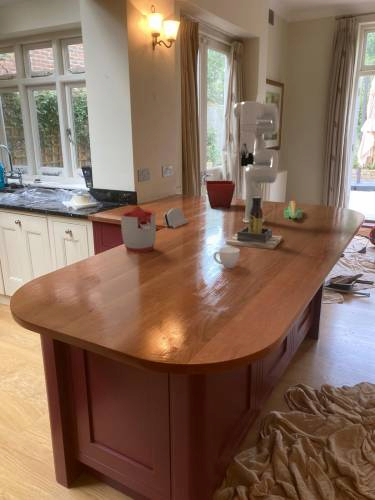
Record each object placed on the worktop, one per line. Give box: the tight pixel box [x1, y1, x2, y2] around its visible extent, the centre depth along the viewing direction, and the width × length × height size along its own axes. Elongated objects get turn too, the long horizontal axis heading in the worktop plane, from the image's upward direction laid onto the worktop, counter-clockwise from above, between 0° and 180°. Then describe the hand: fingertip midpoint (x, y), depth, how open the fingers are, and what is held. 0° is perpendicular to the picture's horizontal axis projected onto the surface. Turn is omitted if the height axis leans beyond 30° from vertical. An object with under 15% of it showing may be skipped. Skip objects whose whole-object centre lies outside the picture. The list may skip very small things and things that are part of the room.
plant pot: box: [205, 180, 236, 209], centre depth 278 cm, size 19×19×17 cm
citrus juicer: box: [119, 205, 157, 254], centre depth 178 cm, size 16×17×20 cm
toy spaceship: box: [283, 200, 303, 220], centre depth 243 cm, size 32×10×7 cm, turn 167°
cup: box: [213, 246, 241, 269], centre depth 157 cm, size 8×10×7 cm
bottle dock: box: [225, 225, 283, 250], centre depth 191 cm, size 18×22×6 cm
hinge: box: [162, 208, 189, 229], centre depth 229 cm, size 17×5×10 cm, turn 150°
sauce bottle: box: [248, 196, 264, 234], centre depth 189 cm, size 6×6×20 cm
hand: (247, 165), depth 198 cm, fingers open, 9 cm apart
